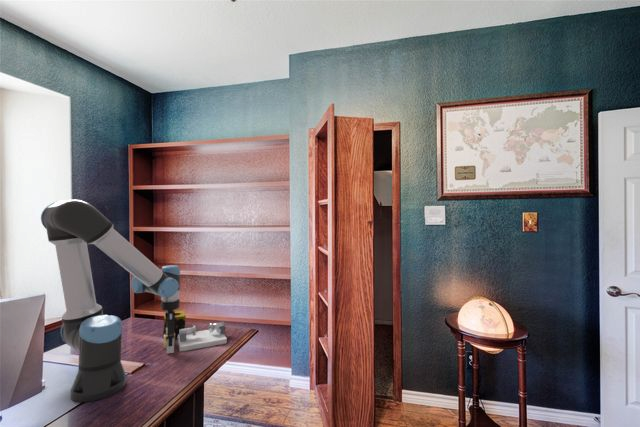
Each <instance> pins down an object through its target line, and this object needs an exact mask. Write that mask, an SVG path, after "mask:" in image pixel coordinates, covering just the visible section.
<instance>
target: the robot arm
mask: <svg viewBox="0 0 640 427" xmlns="http://www.w3.org/2000/svg"><path fill="white" fill-rule="evenodd" d="M40 221H41V224H42V226H43V227H44V229H46V235H47V240H48V242H49V243H51V244H52V245H54V246H55V252H56V256H57V257H56V258H57V263H58V270H59V275H60V281H61V286H62V291H63V292H62V294H63V298H64V304H65V309H66V310H65V312H64V313H63V314H62V316H61V322H62V325H61V327H60V337H61V339H62V341H63V342H64V343H65V344H66V345H67V346H69V347H71V348H73V349H74V350H76V351H77V352H78V369H77V370H78V371H77V373H76V375H75V379H74V381H73V383H72V386H71V388H70V399H71V401H74V402H76V403H77V402H78V403H87V402H88V403H89V402H93V401H95V402H96V401H98V400H101V399H105V398H108V397H110V396H113V395H114V394H116V393H118V392H120V391H121V390H122V389H123V388H124V387H125V386H126V384H127V374H126V372H125V370H124V366H123V364H122V360H121V358H122V339H123V338H122V335H123V334H122V333H123V325H122V324H123V323H122V322H123V321H122V319H121V318H120V317H118V316H116V315H112V314H111V315H108V314H104V310H103V306H102V305H100V304H99V303H97V299H96V294H95V293H96V292H95V286H94V281H93V274H92V267H91V261H90V254H89V250H88V245H94V246H95V247H97V248H98V249H99V250H100V251H102V252H103V253H104V254H105V255H107V257H109V258H110V259H112V260H113V261H114V262H115V263H117V264H118V265H119V266H120V267H122V268H123V269H124V270H125V271H127V272H128V273H130V275H132V278H131V282H130V286H131V290H132V291H133V293H135V294H142V293H150V294H153V295H157V296H159V297H160V300H161V302H160V309H161V311H164V317H165V318H166V327H167V328H166V333H167V337H166V339H167V350H166V354H169V355H170V354H174V352H175V350H174V349H175V347H174V322H175V311H176V310H177V309H179V308H180V304H181V300H180V295H181V294H182V291H180V289H181V268H180V266H179V265H175V264H174V265H173V264H171V265H163V266H162V267H161V269H160V268H159V267H158V266H157V265H156V264H154V263H153V262H152V261H151V260H150V259H149V258H148V257H146V256H145V255H144V254H143V253H142V252H141V251H140V250H138V248H136V247H135V246H134V245H133V244H132V243H131V242H129V241H128V240H127V239H126V238H125V237H124V236H123V235H121V234H120V233H119V232H118V231H117V230H116V229H114V224H113V222H112V221H110V220H109V219H108V218H107V217H106V216H105V215H104V214H103V213H102V212H100V211H99V210H98V209H97V208H96V207H95V206H94V205H92V204H91V203H89V202H87V201H84V200H81V199H68V200H67V199H63V200H62V199H61V200H58V201H57V200H56V201H54V202H52V203H49V204H48V205H47V206H46V207H45V208H44V209H43V210H42V212H41V215H40ZM174 310H175V311H174ZM165 311H166V313H165ZM169 335H170V336H169Z"/></svg>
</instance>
